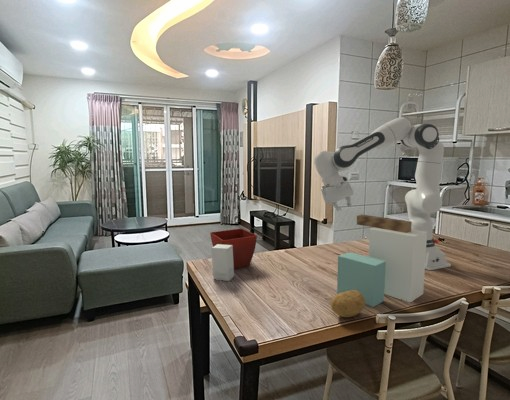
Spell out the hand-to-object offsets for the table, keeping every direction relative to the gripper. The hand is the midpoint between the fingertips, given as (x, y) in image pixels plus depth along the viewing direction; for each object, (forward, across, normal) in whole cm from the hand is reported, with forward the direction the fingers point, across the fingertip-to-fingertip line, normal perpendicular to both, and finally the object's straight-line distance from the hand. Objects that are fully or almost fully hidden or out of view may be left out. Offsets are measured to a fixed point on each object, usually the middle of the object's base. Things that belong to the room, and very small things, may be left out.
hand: (344, 208), depth 156 cm
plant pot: (+4, -41, +50) cm, 64 cm away
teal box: (+35, -28, -8) cm, 45 cm away
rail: (+14, -8, -19) cm, 25 cm away
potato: (+35, -44, -13) cm, 58 cm away
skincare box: (+8, -56, +38) cm, 68 cm away
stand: (+40, -12, -13) cm, 44 cm away
